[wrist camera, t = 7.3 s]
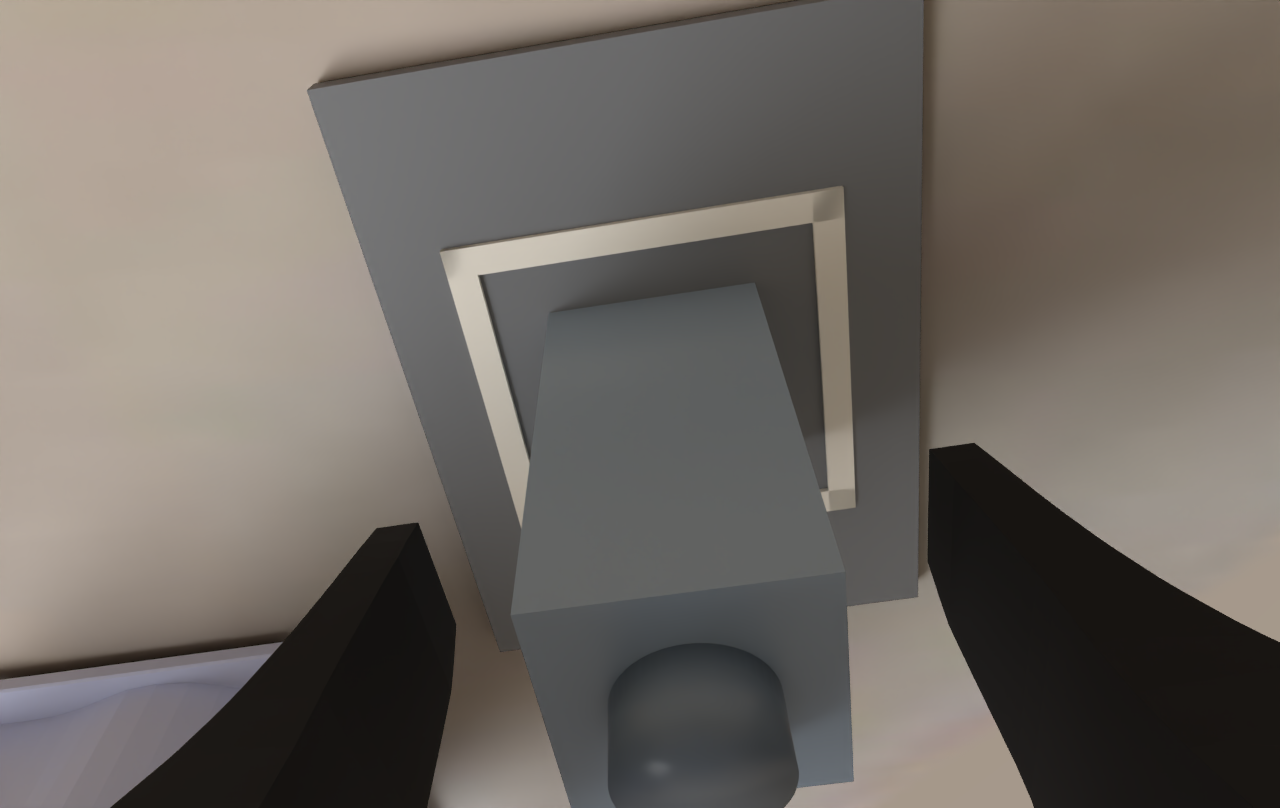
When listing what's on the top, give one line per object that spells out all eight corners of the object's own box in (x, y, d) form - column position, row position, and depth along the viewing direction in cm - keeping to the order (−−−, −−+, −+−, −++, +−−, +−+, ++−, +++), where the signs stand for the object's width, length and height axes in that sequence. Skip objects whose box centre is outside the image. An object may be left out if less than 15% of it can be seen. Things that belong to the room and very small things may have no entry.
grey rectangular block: (586, 476, 17) (570, 892, 11) (548, 313, 15) (500, 692, 9) (769, 450, 17) (873, 859, 10) (754, 282, 15) (868, 646, 9)
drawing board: (502, 638, 20) (500, 655, 20) (314, 83, 14) (305, 92, 13) (912, 583, 20) (919, 600, 19) (916, -21, 13) (925, -15, 13)
